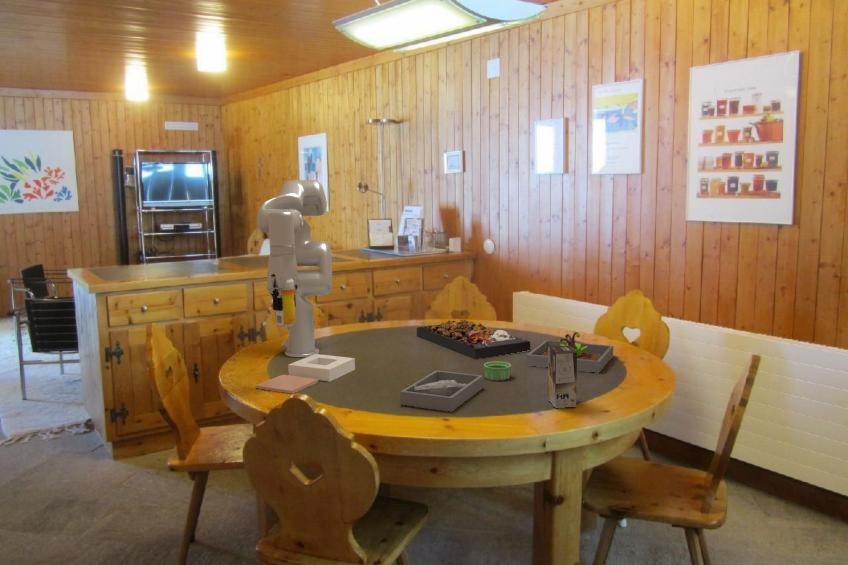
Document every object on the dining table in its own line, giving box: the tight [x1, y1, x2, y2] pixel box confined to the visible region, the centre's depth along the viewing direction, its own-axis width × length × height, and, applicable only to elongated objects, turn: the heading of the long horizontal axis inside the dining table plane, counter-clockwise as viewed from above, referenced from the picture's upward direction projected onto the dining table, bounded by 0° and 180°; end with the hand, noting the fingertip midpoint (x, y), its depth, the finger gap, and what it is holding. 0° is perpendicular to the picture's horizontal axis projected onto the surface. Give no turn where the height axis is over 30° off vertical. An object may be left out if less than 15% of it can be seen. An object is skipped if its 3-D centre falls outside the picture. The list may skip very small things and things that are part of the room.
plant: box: [541, 331, 601, 361], centre depth 250 cm, size 20×20×11 cm
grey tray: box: [399, 370, 484, 413], centre depth 211 cm, size 16×25×4 cm, turn 155°
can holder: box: [287, 353, 356, 382], centre depth 238 cm, size 16×16×4 cm
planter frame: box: [525, 339, 614, 374], centre depth 251 cm, size 25×25×4 cm
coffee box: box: [547, 346, 578, 409], centre depth 202 cm, size 9×6×16 cm
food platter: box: [416, 318, 531, 360], centre depth 280 cm, size 45×25×10 cm, turn 28°
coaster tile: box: [255, 374, 319, 395], centre depth 224 cm, size 14×14×1 cm
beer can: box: [274, 278, 295, 328], centre depth 221 cm, size 6×6×15 cm
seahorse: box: [412, 380, 467, 397], centre depth 211 cm, size 5×12×20 cm
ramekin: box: [483, 360, 512, 382], centre depth 231 cm, size 9×9×4 cm
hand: (284, 307), depth 221 cm, fingers closed on beer can, 6 cm apart
